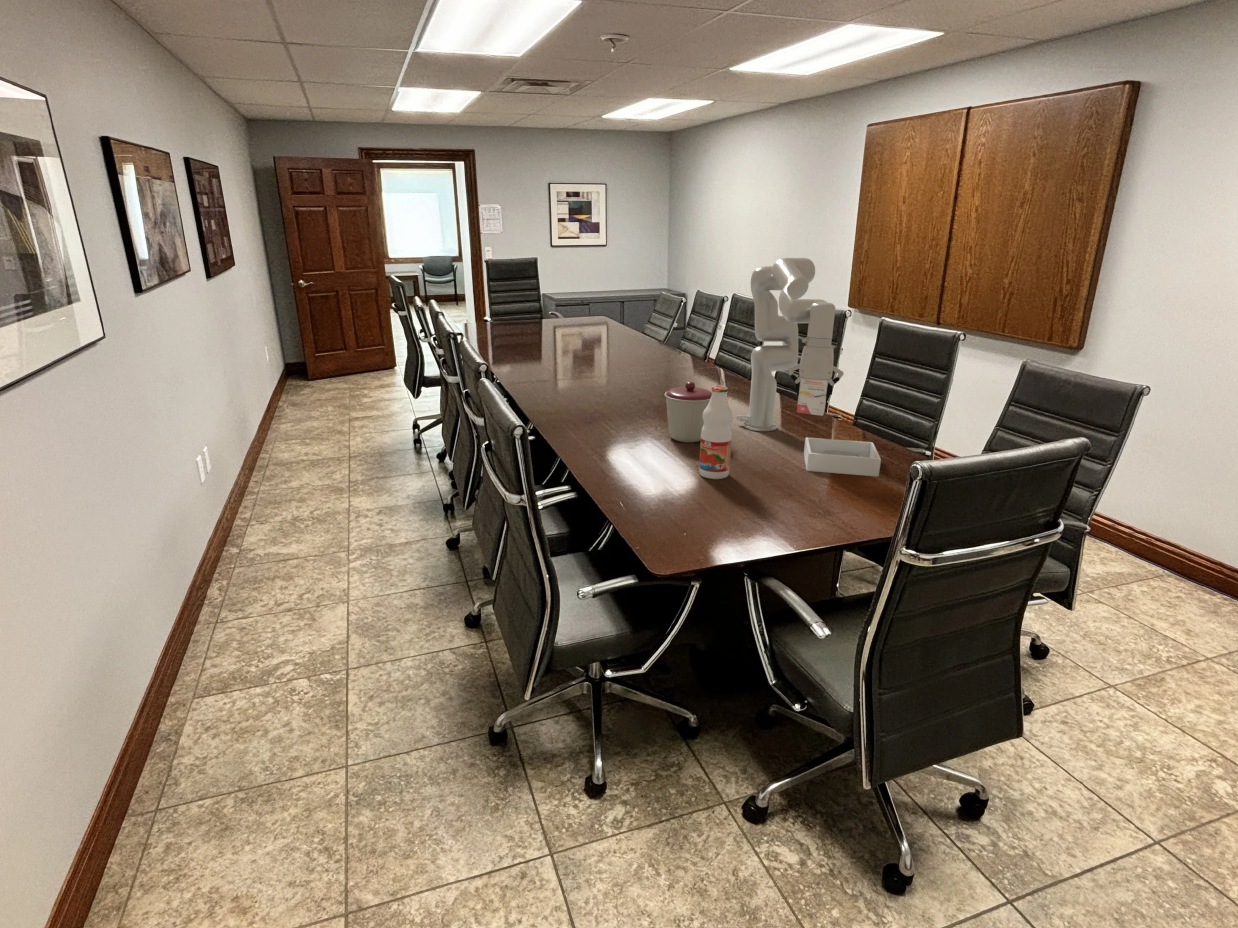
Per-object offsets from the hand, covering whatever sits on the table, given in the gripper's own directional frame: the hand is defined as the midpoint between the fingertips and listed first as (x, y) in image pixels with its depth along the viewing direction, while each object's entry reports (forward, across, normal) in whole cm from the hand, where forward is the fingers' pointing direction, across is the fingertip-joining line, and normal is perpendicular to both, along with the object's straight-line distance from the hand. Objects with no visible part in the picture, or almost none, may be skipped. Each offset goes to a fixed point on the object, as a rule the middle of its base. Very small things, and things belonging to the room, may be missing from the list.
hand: (812, 395), depth 223 cm
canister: (+23, -42, +14) cm, 49 cm away
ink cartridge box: (+6, 0, 0) cm, 6 cm away
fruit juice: (+23, -28, -21) cm, 42 cm away
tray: (+22, +11, 0) cm, 25 cm away
